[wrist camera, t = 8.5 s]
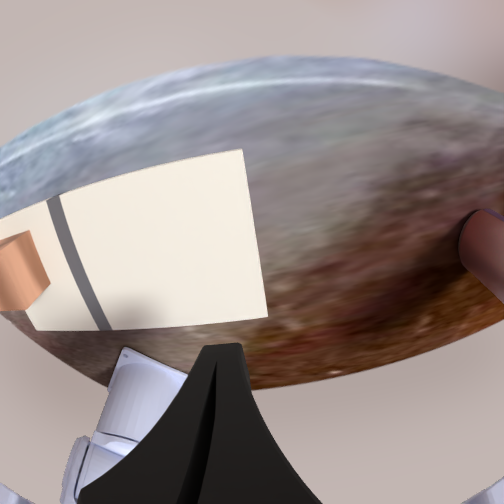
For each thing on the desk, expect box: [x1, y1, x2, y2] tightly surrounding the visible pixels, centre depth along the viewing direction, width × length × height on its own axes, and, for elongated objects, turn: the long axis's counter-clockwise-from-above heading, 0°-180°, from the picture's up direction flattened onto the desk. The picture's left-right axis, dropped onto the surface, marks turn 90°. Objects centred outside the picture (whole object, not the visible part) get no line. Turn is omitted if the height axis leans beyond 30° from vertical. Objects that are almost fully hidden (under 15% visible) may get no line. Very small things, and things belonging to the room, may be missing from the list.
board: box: [0, 149, 268, 331], centre depth 19 cm, size 24×12×1 cm, turn 98°
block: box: [0, 230, 51, 311], centre depth 16 cm, size 5×5×4 cm
